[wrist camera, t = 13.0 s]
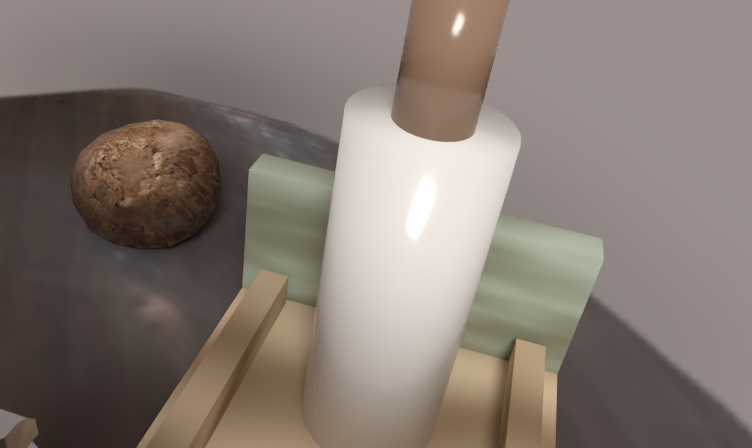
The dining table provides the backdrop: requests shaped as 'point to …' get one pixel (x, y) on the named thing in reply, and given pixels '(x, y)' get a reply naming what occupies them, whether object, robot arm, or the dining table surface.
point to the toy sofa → (296, 318)
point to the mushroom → (146, 184)
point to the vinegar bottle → (408, 232)
